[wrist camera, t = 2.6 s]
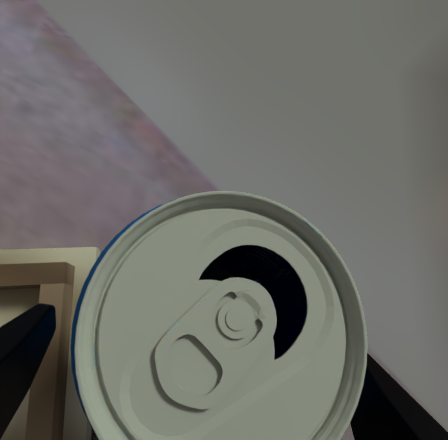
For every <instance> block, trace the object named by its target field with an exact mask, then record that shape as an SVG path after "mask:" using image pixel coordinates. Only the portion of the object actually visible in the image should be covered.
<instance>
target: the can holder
mask: <svg viewBox="0 0 448 440" xmlns="http://www.w3.org/2000/svg"><path fill="white" fill-rule="evenodd" d="M99 256H100V250H99V249H98V248H97V247H80V248H45V249H11V250H0V327H1V326H2V325H4V324H6V323H7V322H9V321H11V320H12V319H14V318H15V317H17V316H19V315H20V314H22V313H23V312H25V311H27V310H28V309H30V308H32V307H33V306H35V305H36V304H39V303H44V304H51V305H54V306H55V309H56V330H55V333H54V336H53V338H52V340H51V342H50V345H49V347H48V349H47V351H46V354H45V356H44V358H43V360H42V362H41V365H40V367H39V369H38V371H37V374H36V376H35V378H34V380H33V382H32V385H31V387H30V389H29V390H28V392H27V394H26V396H25V398H24V400H23V401H22V403H21V405H20V406H19V408H18V410H17V412H16V413H15V415H14V417H13V419H12V420H11V422H10V424H9V426H8V427H7V429H6V431H5V433H4V434H3V436H2V438H1V440H91V431H92V428H91V426H90V424H89V422H88V420H87V418H86V416H85V414H84V412H83V409H82V407H81V404H80V401H79V398H78V395H77V392H76V388H75V383H74V378H73V373H72V366H71V348H70V346H71V333H72V323H73V318H74V314H75V309H76V304H77V301H78V298H79V296H80V293H81V290H82V287H83V284H84V282H85V280H86V278H87V276H88V274H89V272H90V270H91V268H92V266H93V265H94V263H95V262H96V260H97V259H98V257H99Z"/></svg>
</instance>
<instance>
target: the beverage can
mask: <svg viewBox="0 0 448 440" xmlns="http://www.w3.org/2000/svg"><path fill="white" fill-rule="evenodd" d="M366 332H367V331H366V323H365V317H364V311H363V307H362V303H361V300H360V297H359V293H358V290H357V288H356V285H355V283H354V280H353V278H352V276H351V273H350V272H349V270H348V268H347V266H346V265H345V263H344V261H343V259H342V258H341V256H340V255H339V253H338V252H337V251H336V249H335V248H334V247H333V245H332V244H331V243H330V242H329V240H328V239H327V238H326V237H325V236H324V235H323V234H322V233H321V232H320V231H319V230H318V229H317V228H316V227H315V226H314V225H313V224H311V223H310V222H309V221H308V220H307V219H305V218H304V217H302V216H301V215H299V214H298V213H296V212H295V211H293V210H291V209H289V208H288V207H286V206H284V205H282V204H280V203H278V202H275V201H273V200H270V199H267V198H265V197H261V196H257V195H253V194H249V193H243V192H234V191H212V192H204V193H197V194H193V195H189V196H185V197H181V198H179V199H176V200H172V201H170V202H167V203H165V204H162V205H159V206H157V207H155V208H154V209H152V210H150V211H148V212H146V213H144V214H143V215H141V216H140V217H138V218H137V219H135V220H134V221H133V222H131V223H130V224H128V225H127V226H126V227H125V228H124V229H123V230H122V231H121V232H120V233H119V234H117V235H116V236H115V237H114V238H113V240H112V241H111V242H110V243H109V244H108V245H107V247H106V248H105V249H104V250H103V251H102V253H101V254H100V256H99V257H98V259H97V260H96V262H95V263H94V265H93V266H92V268H91V270H90V272H89V274H88V276H87V278H86V280H85V282H84V284H83V287H82V290H81V293H80V296H79V298H78V301H77V304H76V309H75V314H74V318H73V323H72V333H71V346H70V348H71V366H72V373H73V378H74V383H75V388H76V392H77V395H78V398H79V401H80V404H81V407H82V409H83V412H84V414H85V416H86V418H87V420H88V422H89V424H90V426H91V428H92V429H93V431H94V433H95V434H96V436H97V438H98V440H340V439H341V438H342V436H343V434H344V433H345V431H346V429H347V427H348V426H349V424H350V422H351V419H352V417H353V415H354V412H355V410H356V407H357V405H358V402H359V398H360V395H361V391H362V388H363V384H364V378H365V372H366V365H367V333H366Z"/></svg>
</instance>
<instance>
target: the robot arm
mask: <svg viewBox="0 0 448 440" xmlns="http://www.w3.org/2000/svg"><path fill="white" fill-rule="evenodd" d="M55 330H56V309H55V306H54V305H51V304H44V303H39V304H36V305H35V306H33V307H32V308H30V309H28V310H27V311H25V312H23V313H22V314H20V315H19V316H17V317H15V318H14V319H12V320H11V321H9V322H7V323H6V324H4V325H2V326H1V327H0V440H1V438H2V436H3V434H4V433H5V431H6V429H7V427H8V426H9V424H10V422H11V420H12V419H13V417H14V415H15V413H16V412H17V410H18V408H19V406H20V405H21V403H22V401H23V400H24V398H25V396H26V394H27V392H28V390H29V389H30V387H31V385H32V382H33V380H34V378H35V376H36V374H37V371H38V369H39V367H40V365H41V362H42V360H43V358H44V356H45V354H46V351H47V349H48V347H49V345H50V342H51V340H52V338H53V336H54V333H55ZM350 423H351V428H352V432H353V435H354V439H355V440H448V432H447V431H446V430H445V429H444V428H443V427H442V426H441V425H440V424H439V423H438V422H437V421H436V420H435V419H434V418H433V417H432V416H431V415H430V414H429V413H428V412H427V411H426V410H425V409H424V408H423V407H422V406H421V405H420V404H419V403H418V402H417V401H416V400H415V399H413V398H412V397H411V396H410V395H409V394H408V393H407V392H406V391H405V390H404V389H403V388H402V387H401V386H400V385H399V384H398V383H397V382H396V381H395V380H394V379H393V378H392V377H391V376H390V375H389V374H388V373H387V372H386V371H385V370H384V369H383V368H382V367H381V366H380V365H379V364H378V363H377V362H376V361H375V360H374V359H373V358H372V357H371V356H370V355H369V354H368V353H367V365H366V372H365V378H364V384H363V388H362V391H361V395H360V398H359V402H358V405H357V407H356V410H355V412H354V415H353V417H352V419H351V422H350Z"/></svg>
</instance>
